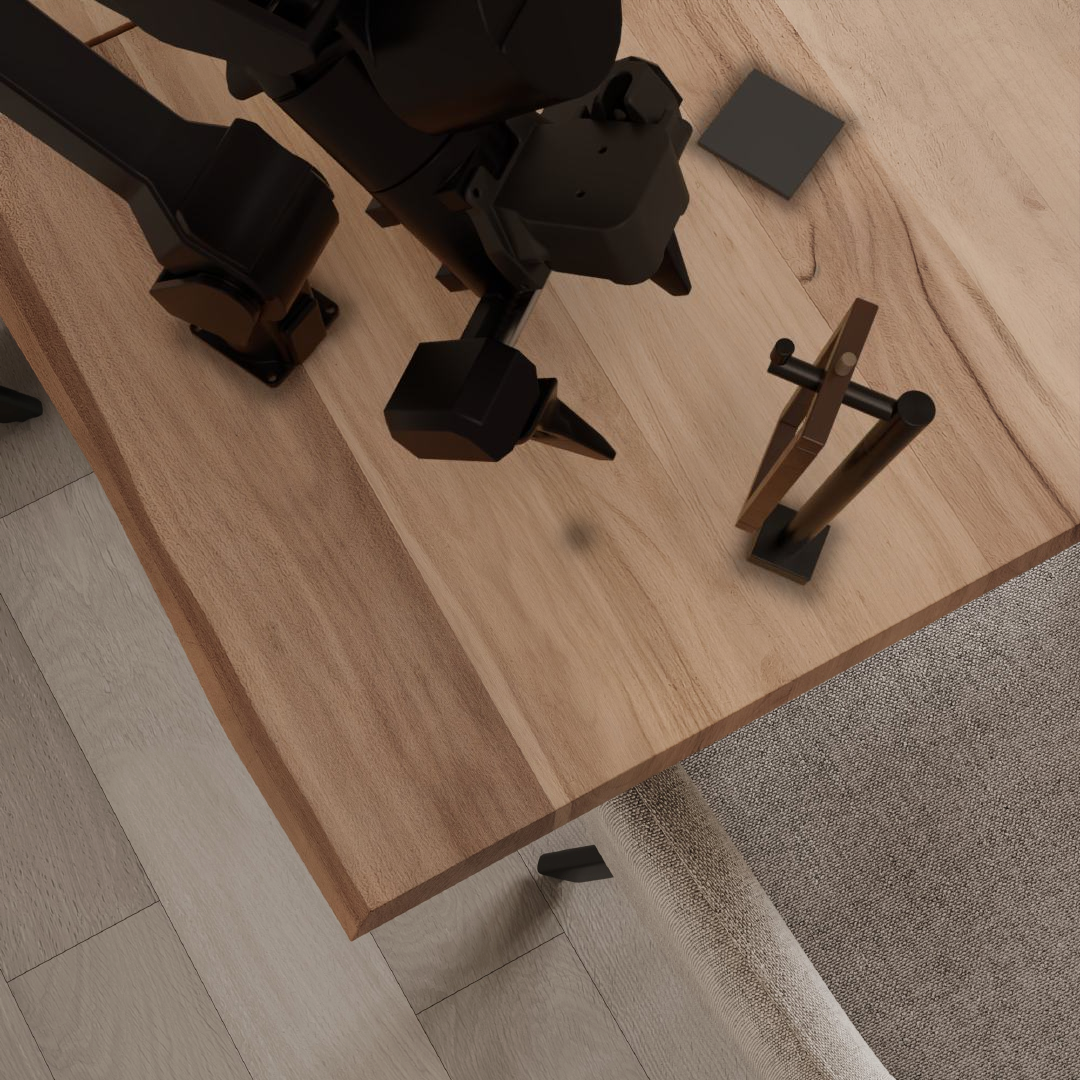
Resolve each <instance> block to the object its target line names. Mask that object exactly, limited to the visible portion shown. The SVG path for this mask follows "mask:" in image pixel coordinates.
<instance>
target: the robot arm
mask: <svg viewBox="0 0 1080 1080" xmlns="http://www.w3.org/2000/svg"><path fill="white" fill-rule="evenodd" d="M94 1H95V2H96V3H98V4H100V5H101V6H103V7H105V8H107V9H109V10H111V11H113V12H115V13H117V14H118V15H120V16H122V17H124V18H126V19H128V20H129V21H130V22H132V23H133V24H134V25H135V26H136V27H138V28H139V29H141V31H143V32H144V33H145V34H148V35H149V36H151V37H152V38H154V39H156V40H158V41H159V42H161V43H164V44H166V45H169V46H171V47H174V48H176V49H181V50H185V51H188V52H192V53H196V54H199V55H203V56H207V57H209V58H210V57H211V58H214V59H218V60H221V61H225V64H226V65H225V79H226V85H227V90H228V92H229V94H230V95H231V97H232V98H234V99H235V100H238V101H246V100H249V99H250V98H253V97H255V96H257V95H260V94H261V93H264V94H265V95H266V96H267V97H268V98H269V99H271V101H272V102H274V104H275V105H276V106H277V107H279V109H281V110H282V112H284V113H285V114H286V115H287V116H288V117H289V118H290V119H291V120H292V121H293V122H294V123H295V124H296V125H297V126H298V127H300V128H301V129H302V131H303V132H305V133H306V134H307V135H308V137H310V138H311V139H312V140H313V141H314V142H315V143H316V144H318V146H319V147H320V148H321V149H323V150H324V152H326V153H327V154H328V155H329V156H330V157H331V158H332V159H333V160H334V161H335V162H336V163H337V164H338V165H339V166H340V167H341V168H342V169H343V170H344V171H345V172H347V173H348V175H349V176H351V178H353V179H354V180H355V181H356V182H357V183H358V184H359V185H360V186H361V187H362V188H363V189H364V190H365V191H366V192H367V193H368V194H369V195H370V196H371V197H372V198H371V200H370V201H369V203H368V205H367V206H366V208H365V210H364V213H365V214H366V215H368V217H370V218H371V219H372V220H373V221H374V222H375V223H376V224H377V225H378V226H379V227H380V228H381V229H386V228H391V227H395V226H400V225H402V226H403V227H404V228H405V229H406V230H407V231H408V232H409V233H410V234H411V235H412V236H413V237H414V238H415V239H416V240H417V241H418V242H419V243H420V244H422V246H423V247H425V249H427V250H428V251H429V252H430V253H431V254H432V255H433V256H434V257H435V258H436V259H437V260H438V261H439V262H441V265H440V266H439V269H438V270H437V272H436V274H435V276H434V278H435V280H436V281H438V283H440V284H441V285H442V286H443V287H444V288H445V289H446V290H448V291H449V292H450V293H456V292H457V293H458V292H464V291H465V292H466V291H471V293H472V294H474V295H475V296H476V297H477V298H478V299H479V300H478V303H477V305H476V306H475V309H474V310H473V312H472V314H471V317H470V318H469V320H468V322H467V324H466V326H465V328H464V330H463V331H462V333H461V335H460V337H459V338H458V339H445V340H435V341H434V340H433V341H421V342H419V343H418V344H417V347H416V348H415V350H414V352H413V354H412V356H411V357H410V360H409V362H408V363H407V365H406V367H405V369H404V371H403V373H402V374H401V377H400V379H399V381H398V382H397V384H396V386H395V388H394V390H393V392H392V393H391V394H390V397H389V400H388V401H387V403H386V405H385V407H384V408H383V410H382V411H383V416H384V421H385V424H386V426H387V429H388V432H389V435H390V437H391V439H392V440H394V441H395V442H396V443H397V444H399V445H400V446H401V447H403V448H404V449H405V450H406V451H408V452H409V453H411V454H412V455H413V456H415V457H416V458H417V459H418V460H438V461H457V462H458V461H459V462H477V463H479V462H480V463H498V462H500V461H502V459H504V458H505V457H507V455H509V454H511V452H514V449H515V447H516V446H520V445H523V444H525V443H527V442H528V441H534V442H536V443H540V444H543V445H546V446H549V447H553V448H557V449H561V450H563V451H567V452H570V453H573V454H576V455H580V456H584V457H587V458H591V459H593V460H596V461H605V462H606V461H608V462H613V461H615V458H616V457H617V452H616V450H615V449H614V448H613V446H612V445H611V444H610V443H609V441H608V440H607V439H606V438H605V437H604V436H603V435H602V434H601V433H600V432H599V431H598V430H597V429H595V428H594V427H593V426H592V425H591V424H589V422H587V421H586V420H584V419H583V417H581V416H580V415H579V414H578V413H576V412H575V411H574V410H573V409H572V408H571V407H570V406H569V405H567V404H566V403H564V402H563V400H561V399H560V398H559V397H558V388H559V387H558V385H559V381H558V378H557V377H538V372H537V365H535V364H534V363H533V362H532V361H531V360H530V359H529V358H528V357H527V356H526V355H525V354H524V353H523V352H522V351H521V350H520V349H517V348H515V346H516V345H517V343H518V340H519V339H520V337H521V335H522V333H523V330H524V329H525V326H526V324H527V323H528V321H529V318H530V316H531V315H532V312H533V310H534V308H535V307H536V305H537V303H538V300H539V298H540V297H541V295H542V292H543V291H544V288H545V286H546V285H547V283H548V280H549V278H550V277H551V275H552V273H553V272H554V273H560V274H567V275H573V276H581V277H587V278H594V279H601V280H608V281H610V282H612V283H613V284H615V285H619V286H630V287H631V286H636V285H640V284H643V283H645V282H646V281H648V280H650V281H651V282H652V283H654V284H655V285H657V286H658V287H659V288H661V289H662V290H663V291H665V292H666V293H668V294H669V296H672V297H684V296H685V297H686V296H689V295H690V293H691V291H692V288H693V285H692V283H691V282H692V281H691V279H690V277H689V274H688V273H689V272H688V269H687V267H686V262H685V260H684V257H683V254H682V251H681V248H680V247H681V246H680V243H679V241H678V237H677V234H676V231H675V228H676V226H677V224H678V223H679V220H680V218H681V217H682V216H684V215H685V213H686V211H687V209H688V207H689V204H690V197H691V196H690V193H689V189H688V186H687V184H686V181H685V177H684V174H683V172H682V169H681V165H680V159H681V158H682V155H683V154H684V152H685V150H686V147H687V145H688V144H689V141H690V139H691V137H692V135H693V132H694V128H693V126H692V124H691V123H690V122H689V121H688V120H687V119H684V118H683V116H682V111H681V109H680V107H681V105H682V103H683V101H684V98H683V97H682V96H681V94H680V93H679V92H678V90H677V89H676V87H675V86H674V85H673V83H672V81H670V79H669V77H668V75H666V74H665V71H663V70H662V68H661V66H660V65H659V64H658V63H655V62H653V61H650V60H648V59H645V58H643V57H641V56H635V55H629V56H626V57H623V58H620V59H617V56H618V53H619V49H620V45H621V41H622V30H623V22H624V21H623V5H622V0H94ZM540 110H542V111H541V112H538V111H540ZM0 113H1V114H2V115H3V116H5V117H6V118H7V119H8V120H11V121H12V123H14V124H16V125H18V126H19V127H21V128H22V130H23V129H24V131H26V132H27V133H29V134H30V135H31V136H34V137H35V138H36V139H37V140H39V141H40V142H42V143H43V144H44V145H46V146H48V147H49V148H50V149H52V151H55V152H56V153H58V155H60V156H62V157H63V158H64V159H65V160H67V161H68V162H70V163H71V164H73V165H74V166H76V167H77V168H79V169H80V170H81V171H83V172H84V173H86V174H87V175H88V176H90V177H91V178H93V179H95V180H96V181H97V182H98V183H100V184H102V185H103V186H104V187H106V189H108V190H110V191H111V192H113V193H114V194H115V195H117V197H119V198H121V199H122V200H123V201H125V203H127V204H128V206H129V208H130V210H131V212H132V214H133V216H134V218H135V220H136V222H137V224H138V226H139V228H140V229H141V232H142V233H143V236H144V238H145V240H146V242H147V244H148V246H149V248H150V250H151V252H152V253H153V256H154V257H155V260H156V261H157V263H158V264H160V265H161V266H162V267H163V269H162V270H161V271H160V273H159V275H158V277H157V278H156V280H154V283H153V284H152V285H151V287H150V289H149V291H148V293H149V294H150V296H151V297H152V298H153V299H154V300H155V301H156V302H157V303H158V304H159V305H160V306H161V307H162V308H163V309H164V311H166V312H167V313H168V314H169V315H171V316H172V317H175V318H176V319H178V320H179V319H180V320H182V321H184V322H186V323H187V324H188V323H189V330H190V333H191V334H192V335H193V337H195V338H196V339H197V340H199V341H201V342H202V343H203V344H204V345H207V346H208V347H209V348H211V349H212V350H214V351H215V352H217V353H218V354H219V355H221V356H223V357H224V358H226V359H227V360H228V361H229V362H231V363H232V364H234V365H236V366H237V367H238V368H240V369H241V370H243V371H244V372H245V373H247V374H249V375H250V376H252V377H253V378H255V379H256V380H257V381H259V382H260V383H261V384H263V385H265V386H266V387H268V388H270V389H275V388H278V387H280V385H281V384H283V382H284V381H285V380H286V378H287V377H288V376H289V375H290V374H291V372H292V371H293V370H294V369H295V368H296V367H297V366H302V365H303V364H304V362H305V361H306V360H307V359H308V358H309V357H310V356H311V355H312V353H313V352H314V351H315V350H316V348H317V347H318V346H319V345H320V344H321V343H322V341H323V340H324V339H325V338H326V337H327V330H328V329H329V328H330V327H331V326H332V324H334V322H335V321H336V320H337V319H338V318H339V315H340V307H339V305H338V304H337V303H336V302H334V301H333V300H332V299H330V297H327V296H326V295H324V294H323V293H321V292H320V291H318V290H317V289H315V288H314V287H312V286H311V284H310V280H309V276H310V274H312V271H313V269H314V268H315V266H316V265H317V262H318V260H319V259H320V257H321V256H322V253H323V252H324V250H325V249H326V247H327V245H328V244H329V241H330V240H331V238H332V236H333V235H334V234H335V231H336V229H337V227H338V226H339V224H340V213H339V211H338V209H337V206H336V204H335V202H334V200H335V198H336V195H335V193H334V190H333V189H332V188H331V186H330V183H329V181H328V180H327V178H326V177H325V175H323V173H322V172H321V171H320V170H319V168H316V166H314V165H313V164H312V163H311V162H309V161H307V160H306V159H304V158H302V157H301V156H299V155H297V154H295V153H293V152H292V151H290V150H288V149H287V148H286V147H285V146H283V145H282V144H280V143H279V142H278V140H276V139H274V137H272V136H271V135H270V134H269V133H268V131H266V129H264V128H263V127H262V126H261V125H259V123H257V122H255V121H251V120H249V119H244V118H241V117H236V118H234V119H233V121H232V122H231V124H230V126H229V125H222V124H216V123H209V122H203V121H196V120H189V119H186V118H184V117H183V116H181V115H180V114H178V112H175V111H174V110H173V109H172V108H170V107H169V106H167V105H166V104H165V103H164V102H162V101H161V100H159V99H158V98H157V97H156V96H155V95H153V94H152V93H150V92H149V91H147V89H145V88H144V87H143V86H141V85H140V84H139V83H137V82H136V81H135V80H134V79H132V78H131V77H130V76H128V75H127V74H126V73H124V72H123V71H122V70H121V69H119V68H118V67H116V66H115V65H114V64H113V63H112V62H110V61H108V60H107V59H106V58H104V57H103V56H102V55H101V54H100V53H98V52H97V51H96V50H94V49H93V48H92V47H90V46H89V45H88V44H86V43H85V42H83V41H82V40H81V39H80V38H79V37H77V36H75V34H73V33H72V32H71V31H69V30H68V29H67V28H66V27H64V26H63V25H62V24H60V23H59V22H57V21H56V20H55V19H54V18H52V17H51V16H50V15H48V14H47V13H45V11H43V10H42V9H40V8H39V7H38V6H36V5H35V4H34V3H32V2H31V1H30V0H0ZM331 309H332V310H333V311H332V312H329V310H331ZM197 328H201V329H200V330H197ZM272 377H275V379H274V380H272V381H271V380H270V378H272Z"/></svg>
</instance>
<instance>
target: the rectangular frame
mask: <svg viewBox="0 0 1080 1080" xmlns="http://www.w3.org/2000/svg"><path fill="white" fill-rule="evenodd" d="M879 308H880V307H879V305H878V304H876V303H874V302H871V301H868V300H866V299H863V298H861V297H856V298H855V299H854V301H853V302H852V304H851V305H850V306H849V308H848V310H847V311H846V312H845V314H844V315H843V317H842V319H841V320H840V322H839V324H838V325H837V327H835V330H834V331H833V333H832V334H831V335H830V338H829V339H828V340H827V342H826V343H825V345H824V346H823V348H822V349H821V351H820V352H819V354H818V355H817V357H816V358H815V360H814V361H813V362H812V365H815V366H817V367H820V368H822V369H824V370H825V371H824V373H823V376H822V378H821V381H820V383H819V386H818V388H817V391H816V393H815V392H813V391H810V390H808V389H805V388H803V387H801V386H798V385H797V388H796V389H795V390H794V392H793V393H792V395H791V396H790V398H789V400H788V401H787V403H786V404H785V406H784V407H783V409H782V410H781V412H780V413H779V416H778V419H777V421H776V425H775V426H774V429H773V431H772V434H771V436H770V439H769V440H768V443H767V446H766V448H765V451H764V452H763V456H762V458H761V461H760V463H759V466H758V467H757V470H756V473H755V475H754V477H753V480H752V482H751V485H750V487H749V490H748V492H747V495H746V497H745V499H744V502H743V505H742V507H741V510H740V512H739V515H738V517H737V519H736V521H735V524H734V527H735V528H737V529H739V530H741V531H743V532H745V533H748V534H751V535H754V534H755V533H756V531H758V530H759V527H760V525H761V524H762V523H763V522H764V520H765V519H766V518H767V517H768V515H769V514H770V513H771V512H772V511H773V509H774V508H775V507H776V506H777V504H778V503H779V504H780V502H781V501H782V500H783V498H784V497H785V496H787V494H788V492H789V491H790V490H791V489H792V487H793V486H794V485H795V484H796V482H797V481H798V480H799V479H800V478H801V476H802V475H803V474H804V473H805V472H806V470H807V469H808V468H809V466H810V465H811V464H812V463H813V462H814V460H815V459H816V458H817V457H818V455H819V454H820V452H821V451H823V449H824V448H825V446H826V444H827V442H828V439H829V437H830V434H831V432H832V429H833V426H834V424H835V421H836V419H837V417H838V413H839V410H840V408H841V405H842V404H841V403H842V401H843V398H844V396H845V393H846V390H847V388H848V385H849V383H850V380H851V381H852V378H853V375H854V372H855V370H856V368H857V365H858V362H859V359H860V357H861V355H862V352H863V349H864V346H865V344H866V341H867V340H868V336H869V334H870V332H871V329H872V326H873V324H874V321H875V319H876V316H877V314H878V311H879ZM802 423H803V424H802ZM801 425H802V426H801ZM800 426H801V427H800ZM799 427H800V428H799ZM798 429H799V430H798Z"/></svg>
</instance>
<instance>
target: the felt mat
mask: <svg viewBox="0 0 1080 1080" xmlns="http://www.w3.org/2000/svg"><path fill="white" fill-rule="evenodd" d="M720 110H721V111H720V112H719V113H718V114H717V115H716V117H715V118H714V119H713V120H712V122H711V123H710V124H709V126H707V128H706V129H705V131H704V132H703V133H702V135H701V136H700V137H699V138H698V140H697V143H696V144H697V146H698V147H701V148H702V149H704V150H706V151H707V152H708V153H710V154H712V155H714V156H715V157H717V158H718V159H719V160H722V161H723V162H725V163H726V164H728V165H730V166H732V167H733V168H735V169H737V170H738V171H740V172H741V173H743V174H744V175H746V176H747V177H749V178H751V179H752V180H755V181H756V182H758V184H760V185H762V186H764V187H766V188H767V189H769V190H771V191H772V192H774V193H775V194H777V195H779V196H781V197H782V198H784V200H786V201H790V200H791V199H792V197H793V196H794V195H795V193H796V192H797V191H798V189H799V188H800V186H801V185H802V184H803V182H804V181H805V180H806V178H807V177H808V175H809V174H810V173H811V171H812V170H813V168H815V166H816V165H817V163H818V162H819V160H820V159H821V157H822V156H823V155H824V154H825V152H826V151H827V149H828V148H829V147H830V146H831V144H832V143H833V141H834V140H835V139H836V137H837V136H838V134H839V133H840V132H841V130H842V129H843V128H844V126H845V124H846V122H845V120H843V119H841V118H839V117H838V116H837V115H834V114H833V113H831V112H829V111H828V110H826V109H824V108H823V107H820V106H819V105H817V104H816V103H814V102H813V101H810V100H809V99H807V98H805V97H804V96H802V94H801V95H800V94H799V93H797V92H796V91H794V90H793V89H791V88H789V87H787V86H786V85H784V84H782V83H780V82H779V81H778V80H775V79H774V78H772V77H771V76H769V75H768V74H766V73H763V72H762V71H760V70H759V69H757V68H753V69H752V70H751V72H750V73H749V74H748V75H747V77H746V78H745V79H744V80H743V82H742V83H741V84H740V86H738V89H736V91H735V92H734V93H733V95H732V96H731V97H730V99H728V101H727V103H726V104H725V105H724V106H723V107H722V109H720Z"/></svg>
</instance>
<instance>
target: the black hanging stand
mask: <svg viewBox="0 0 1080 1080" xmlns="http://www.w3.org/2000/svg"><path fill="white" fill-rule="evenodd" d="M795 349H796V346H795V343H794V341H793V340H792V339H790V338H787V337H782V338H779V339H778V340H777V341H775V344H774V345H773V347H772V349H771V351H770V352H769V360H770V362H769V364H768V367H767V369H766V373H767V374H770V375H773V376H775V377H777V378H779V379H781V380H784V381H786V382H789V383H791V384H794V385H796V386H797V387H798V386H801V387H803V388H805V389H808V390H810V391H813V392H815V393H816V391H817V388H818V386H819V383H820V381H821V378H822V376H823V373H824V371H825V370H824V369H822V368H820V367H817V366H815V365H813V363H810V362H807V361H805V360H803V359H800V358H798V357H795V356H793V354H794V353H795ZM841 405H843V406H846V407H849V408H851V409H853V410H856V411H858V412H861V413H863V414H865V415H867V416H869V417H873V418H875V419H877V421H876V423H875V424H874V425H873V426H872V427H871V428H870V429H869V430H868V432H867V433H866V434H865V435H864V436H863V437H862V438H861V440H859V442H858V443H857V444H856V445H855V446H854V448H853V449H851V451H850V452H849V453H848V455H846V456H845V458H844V459H843V460H842V461H841V462H840V463H839V464H838V465H837V466H836V468H835V469H834V470H833V471H832V472H831V474H830V475H828V477H827V478H826V479H825V480H824V481H823V483H822V484H820V486H819V487H817V489H816V490H815V491H814V492H813V493H812V494H811V496H810V497H809V498H808V499H807V500H806V501H805V503H804V504H803V505H802V506H801V507H800V508H799V509H798V510H796V509H793V508H790V507H788V506H785V505H783V504H781V503H780V502H779V503H778V504H777V506H776V507H775V508H774V509H773V511H772V512H771V513H770V514H769V515H768V517H767V518H766V519H765V520H764V522H763V523H762V524H761V525H760V527H759V528H758V529H757V532H756V535H755V537H754V540H753V542H752V545H751V546H750V550H749V552H748V555H747V557H746V561H747V562H748V563H751V564H753V565H755V566H757V567H760V568H762V569H765V570H766V571H769V572H770V573H773V574H776V575H778V576H781V577H783V578H785V579H788V580H790V581H792V582H795V583H797V584H799V585H801V586H806V585H807V584H808V583H809V582H810V581H811V580H812V577H813V574H814V571H815V570H816V566H817V564H818V561H819V558H820V556H821V554H822V551H823V549H824V545H825V543H826V541H827V538H828V535H829V532H830V530H831V525H830V523H832V521H833V520H834V519H836V517H837V516H838V515H839V514H840V513H841V512H842V511H843V510H844V509H845V508H846V507H847V506H848V505H849V504H850V503H851V502H853V500H854V499H855V498H856V497H857V496H858V495H859V494H860V493H861V492H862V491H863V490H864V489H865V488H866V487H867V486H868V485H869V484H870V483H872V482H873V480H874V479H875V478H876V477H878V475H880V473H882V472H883V470H885V469H886V467H888V465H889V464H890V463H891V462H893V461H894V460H895V459H896V458H897V456H899V455H900V454H901V453H902V452H903V451H904V449H906V448H907V447H908V446H909V445H910V444H911V443H912V442H913V441H914V440H915V439H916V438H917V437H918V436H919V435H920V434H921V433H922V432H923V431H924V430H925V429H926V428H927V427H928V426H929V425H930V424H931V423H932V422H933V421H934V419H935V417H936V413H937V407H936V404H935V402H934V400H933V399H932V397H930V395H928V394H927V393H926V392H924V391H921V390H917V389H914V390H913V389H911V390H907V391H905V392H903V393H902V394H901V395H900V396H898V398H897V399H896V398H894V397H891V396H889V395H887V394H884V393H883V392H880V391H877V390H875V389H872V388H870V387H868V386H865V385H863V384H860V383H858V382H856V381H853V380H852V379H851V380H850V383H849V385H848V388H847V390H846V393H845V396H844V398H843V401H842V403H841Z"/></svg>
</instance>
